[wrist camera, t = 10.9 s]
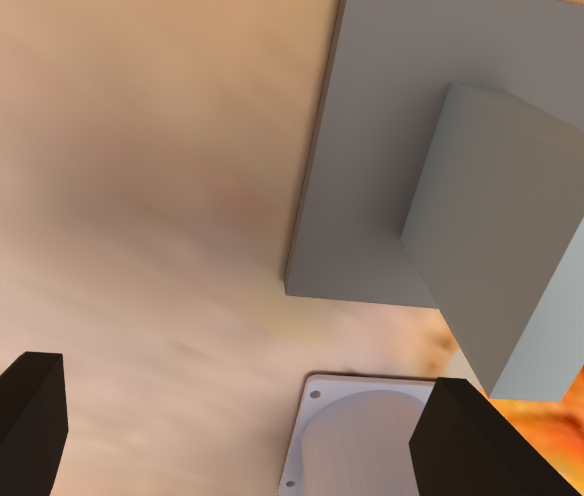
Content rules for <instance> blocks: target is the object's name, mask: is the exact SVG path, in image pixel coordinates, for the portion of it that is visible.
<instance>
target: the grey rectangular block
mask: <svg viewBox="0 0 584 496" xmlns="http://www.w3.org/2000/svg"><path fill="white" fill-rule="evenodd" d="M400 240H401V242H402V243H403V245H404V247H405V249H406V251H407V252H408V254H409V256H410V258H411V260H412V261H413V263H414V265H415V267H416V269H417V270H418V272H419V274H420V276H421V278H422V279H423V281H424V283H425V285H426V287H427V288H428V290H429V292H430V294H431V296H432V297H433V299H434V301H435V303H436V305H437V306H438V308H439V310H440V312H441V314H442V315H443V317H444V319H445V321H446V323H447V324H448V326H449V328H450V330H451V332H452V333H453V335H454V337H455V339H456V341H457V342H458V344H459V346H460V348H461V350H462V351H463V353H464V355H465V357H466V359H467V360H468V362H469V364H470V366H471V368H472V369H473V371H474V373H475V375H476V376H477V378H478V380H479V382H480V384H481V386H482V387H483V389H484V391H485V393H486V395H487V396H488V398H492V399H509V400H527V401H545V402H560V401H561V400H562V398H563V397H564V395H565V393H566V392H567V390H568V389H569V387H570V385H571V384H572V382H573V381H574V379H575V378H576V376H577V374H578V373H579V371H580V370H581V368H582V366H583V365H584V132H583V131H581V130H579V129H578V128H576V127H574V126H572V125H570V124H568V123H566V122H564V121H562V120H560V119H558V118H557V117H555V116H553V115H551V114H549V113H547V112H545V111H543V110H541V109H539V108H537V107H535V106H534V105H532V104H530V103H528V102H526V101H524V100H522V99H520V98H518V97H516V96H514V95H513V94H511V93H509V92H507V91H502V90H496V89H490V88H484V87H478V86H472V85H466V84H460V83H454V82H451V83H450V86H449V90H448V93H447V96H446V99H445V102H444V105H443V108H442V111H441V114H440V117H439V120H438V124H437V127H436V130H435V133H434V136H433V139H432V142H431V145H430V148H429V151H428V154H427V158H426V161H425V164H424V167H423V170H422V173H421V176H420V179H419V182H418V185H417V188H416V192H415V195H414V198H413V201H412V204H411V207H410V210H409V213H408V216H407V219H406V222H405V226H404V229H403V232H402V235H401V238H400Z"/></svg>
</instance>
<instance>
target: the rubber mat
mask: <svg viewBox="0 0 584 496" xmlns="http://www.w3.org/2000/svg"><path fill="white" fill-rule="evenodd" d="M451 82H454V83H460V84H466V85H472V86H478V87H484V88H490V89H496V90H502V91H507V92H509V93H511V94H513V95H514V96H516V97H518V98H520V99H522V100H524V101H526V102H528V103H530V104H532V105H534V106H535V107H537V108H539V109H541V110H543V111H545V112H547V113H549V114H551V115H553V116H555V117H557V118H558V119H560V120H562V121H564V122H566V123H568V124H570V125H572V126H574V127H576V128H578V129H579V130H581V131H583V132H584V6H581V5H577V4H572V3H567V2H562V1H557V0H340V4H339V9H338V14H337V19H336V24H335V29H334V34H333V39H332V44H331V49H330V54H329V59H328V64H327V69H326V74H325V79H324V84H323V89H322V94H321V99H320V104H319V109H318V114H317V119H316V124H315V128H314V133H313V138H312V143H311V148H310V153H309V158H308V163H307V168H306V173H305V178H304V183H303V188H302V193H301V198H300V203H299V208H298V213H297V218H296V223H295V228H294V233H293V238H292V243H291V248H290V253H289V258H288V263H287V268H286V273H285V278H284V286H285V294H286V295H289V296H301V297H312V298H323V299H334V300H345V301H357V302H368V303H379V304H390V305H401V306H413V307H424V308H435V309H439V308H438V306H437V305H436V303H435V301H434V299H433V297H432V296H431V294H430V292H429V290H428V288H427V287H426V285H425V283H424V281H423V279H422V278H421V276H420V274H419V272H418V270H417V269H416V267H415V265H414V263H413V261H412V260H411V258H410V256H409V254H408V252H407V251H406V249H405V247H404V245H403V243H402V242H401V240H400V238H401V235H402V232H403V229H404V226H405V222H406V219H407V216H408V213H409V210H410V207H411V204H412V201H413V198H414V195H415V192H416V188H417V185H418V182H419V179H420V176H421V173H422V170H423V167H424V164H425V161H426V158H427V154H428V151H429V148H430V145H431V142H432V139H433V136H434V133H435V130H436V127H437V124H438V120H439V117H440V114H441V111H442V108H443V105H444V102H445V99H446V96H447V93H448V90H449V86H450V83H451Z"/></svg>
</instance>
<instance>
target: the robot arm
mask: <svg viewBox="0 0 584 496" xmlns="http://www.w3.org/2000/svg"><path fill="white" fill-rule="evenodd" d="M313 391H317V392H313ZM67 434H68V417H67V405H66V393H65V380H64V368H63V355H62V354H59V353H43V352H27V351H26V352H25V353H23V354H22V355H20V356H19V357H18V358H17V359H16V360H15V361H14V362H13V363H12V364H11V365H10V366H9V367H8V368H7V369H6V370H5V371H4V372H3V373H2V374H1V375H0V496H49V495H50V493H51V490H52V488H53V485H54V481H55V478H56V474H57V471H58V467H59V464H60V460H61V456H62V453H63V449H64V445H65V442H66V438H67ZM278 492H279V496H582V495H581V494H580V493H579V492H578V491H577V490H576V489H575V488H574V487H573V486H572V485H570V484H569V483H568V482H567V481H566V480H565V479H564V478H563V477H562V476H561V475H560V474H559V473H558V472H557V471H556V470H555V469H554V468H553V467H552V466H551V465H550V464H549V463H548V462H547V461H546V460H545V459H544V458H543V457H542V456H541V455H540V454H539V453H538V452H537V451H536V450H535V449H534V448H533V447H532V446H531V445H530V444H529V443H528V442H527V441H526V440H525V439H524V438H523V436H522V435H521V434H520V433H519V432H518V431H517V430H516V429H515V428H514V427H513V426H512V425H511V424H510V423H509V422H508V421H507V420H506V419H505V418H504V417H503V416H502V415H501V414H500V413H499V412H498V411H497V410H496V409H495V408H494V407H493V406H492V405H491V403H490V402H489V401H488V400H487V399H486V398H485V397H484V396H483V395H482V394H481V393H480V392H479V391H478V390H477V389H476V388H475V387H473V385H471V384H470V383H469V382H468V381H467V380H466V379H460V378H459V379H458V378H444V377H438V378H437V380H436V382H430V381H414V380H399V379H383V378H367V377H351V376H335V375H319V374H318V375H313V376H310V377H309V378H308V379H307V381H306V384H305V388H304V392H303V396H302V400H301V404H300V407H299V411H298V415H297V419H296V423H295V427H294V431H293V434H292V438H291V442H290V446H289V450H288V454H287V457H286V461H285V465H284V469H283V473H282V477H281V480H280V484H279V488H278Z"/></svg>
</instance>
